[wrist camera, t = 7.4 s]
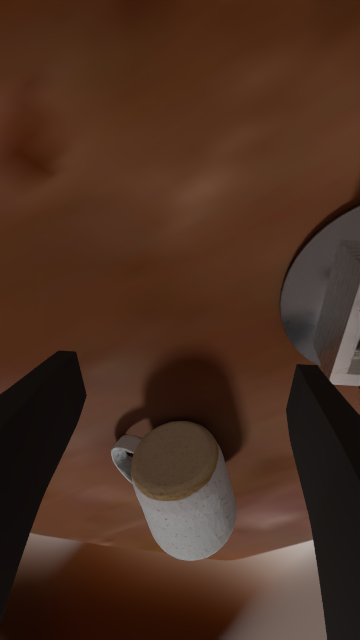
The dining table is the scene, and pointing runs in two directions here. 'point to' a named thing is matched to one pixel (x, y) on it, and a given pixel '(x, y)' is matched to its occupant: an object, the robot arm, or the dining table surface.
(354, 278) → the press
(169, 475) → the ceramic mug
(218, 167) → the dining table surface
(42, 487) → the robot arm
